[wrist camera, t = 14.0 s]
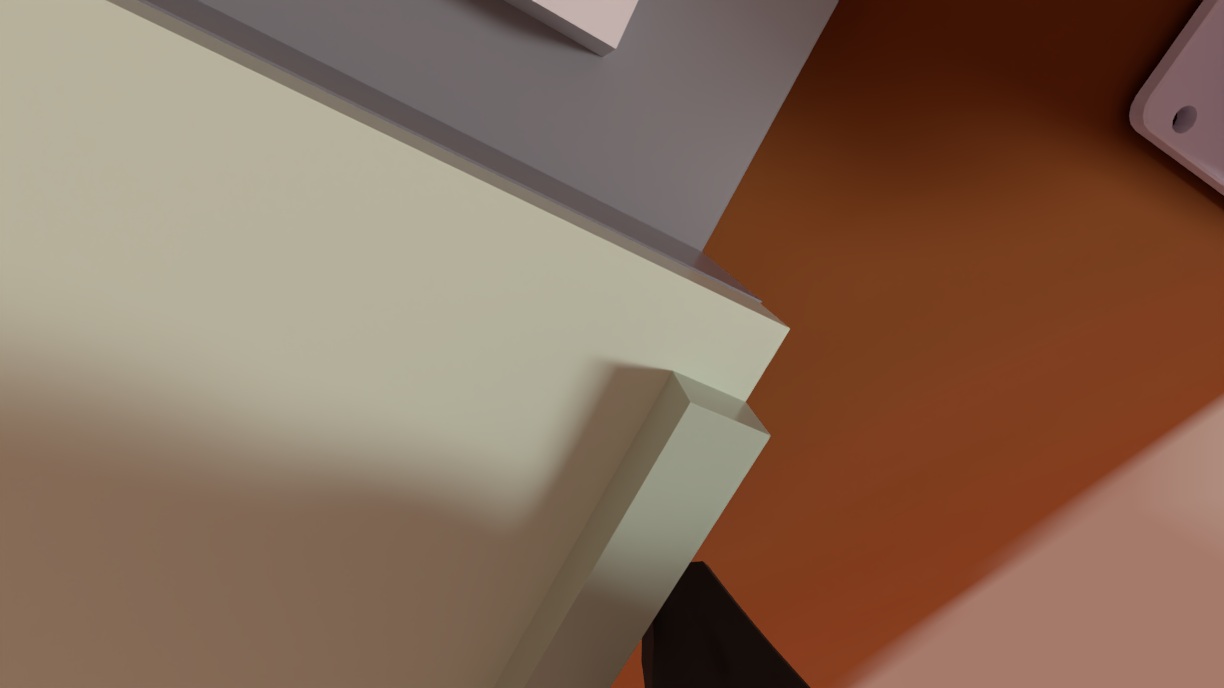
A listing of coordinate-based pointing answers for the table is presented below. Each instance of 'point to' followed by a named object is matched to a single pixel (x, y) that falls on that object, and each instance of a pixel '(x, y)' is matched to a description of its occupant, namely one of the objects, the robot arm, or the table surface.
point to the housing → (557, 91)
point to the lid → (327, 388)
